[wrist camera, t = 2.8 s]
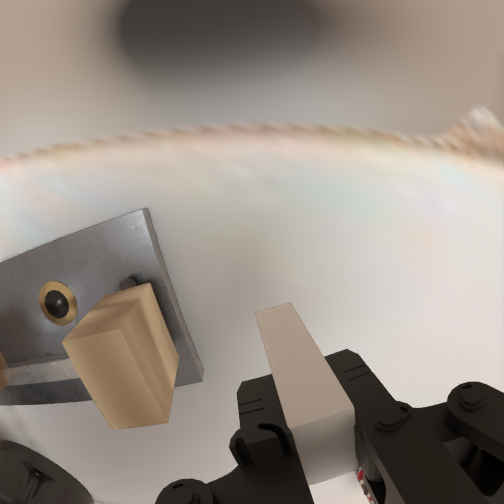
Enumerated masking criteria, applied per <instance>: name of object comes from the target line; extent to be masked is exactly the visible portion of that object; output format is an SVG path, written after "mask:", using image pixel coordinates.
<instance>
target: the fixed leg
mask: <svg viewBox="0 0 504 504" xmlns="http://www.w3.org/2000/svg"><path fill="white" fill-rule="evenodd" d="M6 364H7V363H6V361H5V359H4V357H3V355H2V353H1V351H0V392H1V391H2V390H3V389H4V388H5V386H6V385H7V384H8V383H9V382H8V380H7V379H6V377H5V375H4V373H3V372H2V370H1V369H2V368H3V367H4V366H5V365H6Z"/></svg>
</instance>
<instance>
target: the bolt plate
mask: <svg viewBox="0 0 504 504" xmlns="http://www.w3.org/2000/svg"><path fill="white" fill-rule="evenodd" d="M128 278H131V279H133V280H134V281H135V282H136V286H139V285H143V284H147V283H150V284H151V287H152V290H153V292H154V295H155V298H156V301H157V303H158V306H159V309H160V311H161V314H162V316H163V319H164V322H165V324H166V327H167V329H168V332H169V334H170V337H171V339H172V342H173V344H174V346H175V349H176V351H177V354H178V356H179V361H178V366H177V372H176V378H175V383H174V387H178V386H183V385H187V384H192V383H197V382H201V381H203V367H202V365H201V362H200V360H199V357H198V355H197V352H196V350H195V347H194V345H193V342H192V340H191V337H190V335H189V332H188V329H187V327H186V324H185V321H184V319H183V316H182V313H181V310H180V308H179V305H178V302H177V299H176V296H175V294H174V291H173V288H172V285H171V282H170V279H169V276H168V273H167V270H166V267H165V264H164V261H163V258H162V255H161V251H160V248H159V245H158V242H157V239H156V235H155V232H154V229H153V225H152V222H151V219H150V215H149V212H148V208H145V209H142V210H139V211H136V212H133V213H129V214H126V215H124V216H121V217H118V218H115V219H112V220H109V221H106V222H103V223H100V224H98V225H95V226H92V227H89V228H86V229H84V230H81V231H78V232H76V233H73V234H70V235H68V236H65V237H62V238H60V239H57V240H55V241H52V242H50V243H47V244H45V245H42V246H40V247H37V248H35V249H32V250H30V251H28V252H25V253H23V254H20V255H18V256H16V257H13V258H11V259H9V260H6V261H4V262H2V263H0V351H1V353H2V355H3V357H4V359H5V361H6V363H7V364H6V365H5V366H4V367H3V368H2V369H1V370H2V372H3V373H4V375H5V377H6V379H7V380H8V382H9V383H8V384H7V385H6V386H5V388H4V389H3V390H2V391H1V392H0V405H36V404H54V403H67V402H78V401H88V400H93V399H92V397H91V395H90V394H89V392H88V390H87V389H86V387H85V385H84V383H83V382H82V380H81V378H80V376H79V374H78V373H77V371H76V369H75V367H74V365H73V363H72V361H71V360H70V358H69V356H68V354H67V352H66V350H65V348H64V346H63V344H62V341H63V340H64V339H65V337H66V336H67V335H68V334H69V333H70V332H71V331H72V330H73V329H74V327H75V326H76V325H77V324H78V323H79V322H80V321H81V320H82V319H83V318H84V317H85V315H86V314H87V313H88V312H89V311H90V310H91V309H92V308H93V307H94V306H95V305H96V304H97V303H98V302H99V301H100V300H101V299H102V297H103V296H104V295H107V294H111V293H114V292H118V291H121V290H120V286H121V284H122V283H123V282H124V281H125V280H126V279H128Z"/></svg>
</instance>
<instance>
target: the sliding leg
mask: <svg viewBox="0 0 504 504" xmlns="http://www.w3.org/2000/svg"><path fill="white" fill-rule="evenodd" d="M120 290H121V291H118V292H114V293H111V294H107V295H104V296H103V297H102V299H101V300H100V301H99V302H98V303H97V304H96V305H95V306H94V307H93V308H92V309H91V310H90V311H89V312H88V313H87V314H86V315H85V317H84V318H83V319H82V320H81V321H80V322H79V323H78V324H77V325H76V326H75V327H74V329H73V330H72V331H71V332H70V333H69V334H68V335H67V336H66V337H65V339H64V340H63V341H62V344H63V346H64V348H65V350H66V352H67V354H68V356H69V358H70V360H71V361H72V363H73V365H74V367H75V369H76V371H77V373H78V374H79V376H80V378H81V380H82V382H83V383H84V385H85V387H86V389H87V390H88V392H89V394H90V395H91V397H92V399H93V400H94V402H95V403H96V405H97V407H98V408H99V410H100V411H101V413H102V414H103V416H104V417H105V419H106V420H107V422H108V423H109V425H110V426H111V428H112V429H122V428H132V427H141V426H149V425H156V424H163V423H168V420H169V414H170V407H171V401H172V395H173V389H174V383H175V378H176V372H177V366H178V361H179V356H178V354H177V351H176V349H175V346H174V344H173V342H172V339H171V337H170V334H169V332H168V329H167V327H166V324H165V322H164V319H163V316H162V314H161V311H160V309H159V306H158V303H157V301H156V298H155V295H154V292H153V290H152V287H151V284H150V283H147V284H143V285H139V286H136V282H135V281H134V280H133V279H131V278H128V279H126V280H125V281H124V282H123V283H122V284H121V286H120Z"/></svg>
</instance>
